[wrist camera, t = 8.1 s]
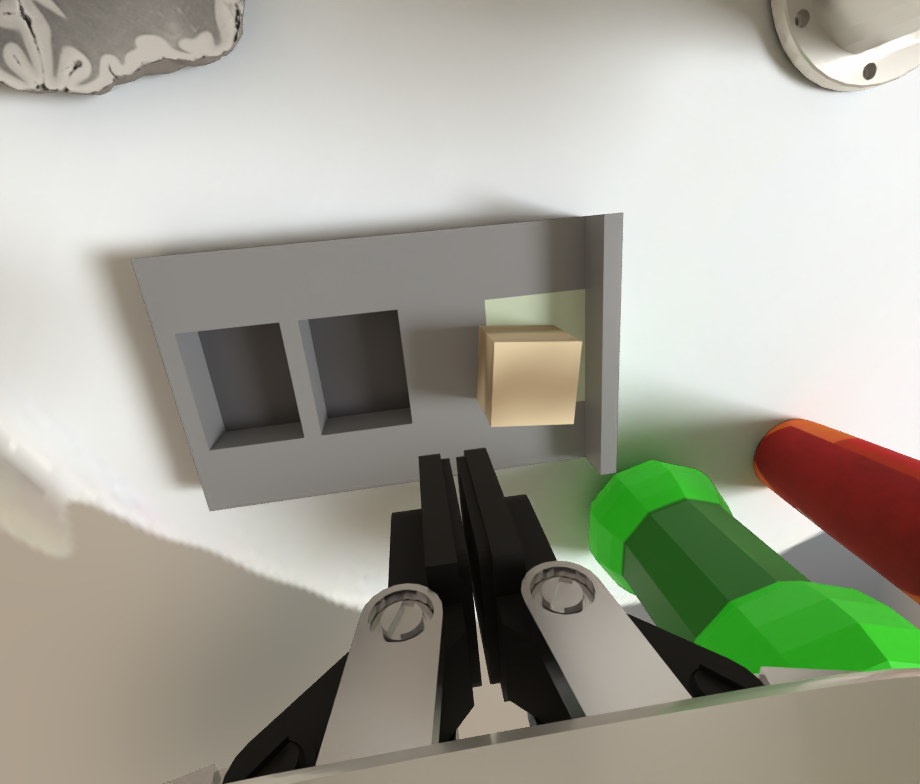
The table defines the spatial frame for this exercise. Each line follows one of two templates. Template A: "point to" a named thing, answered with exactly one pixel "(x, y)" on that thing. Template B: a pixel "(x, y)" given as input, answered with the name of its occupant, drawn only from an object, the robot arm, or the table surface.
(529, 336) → the birch block
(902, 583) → the coffee cup
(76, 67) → the brain slice
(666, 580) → the plastic bottle
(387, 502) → the table surface
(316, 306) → the box
